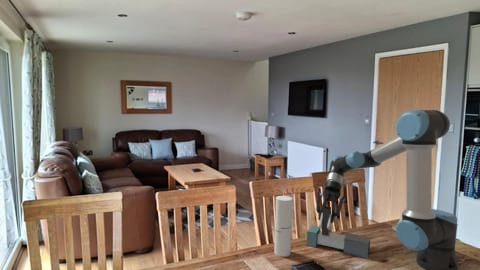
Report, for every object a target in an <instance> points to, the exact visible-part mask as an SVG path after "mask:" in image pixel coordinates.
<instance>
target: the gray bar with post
mask: <svg viewBox="0 0 480 270" xmlns="http://www.w3.org/2000/svg"><path fill="white" fill-rule="evenodd" d="M330 214H332V206H327V205H326V206H324V207H323V218H322V227H321V231H318V233H317V242H316V244H318V245H321V246H327V247H331V248H335V249H339V250H343V251H344V238H345V236H346V235H342V234H337V233H334V232H333V233H331V229H330V230H328V228H327V225H328V220H329V216H330Z"/></svg>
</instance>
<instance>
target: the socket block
mask: <svg viewBox="0 0 480 270" xmlns="http://www.w3.org/2000/svg"><path fill="white" fill-rule="evenodd" d="M318 231H322V227H321V228H320V227H319V225H313V224H312V225H311V226H310V227H309V228H308V230H306V246H308V247H312V248H316V247H317V246H318V245H319V244H316V242H317V233H318Z"/></svg>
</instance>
